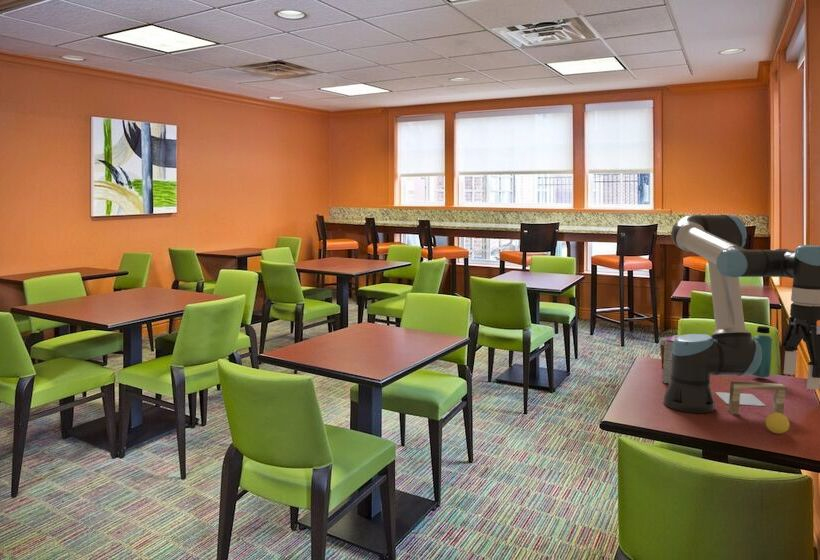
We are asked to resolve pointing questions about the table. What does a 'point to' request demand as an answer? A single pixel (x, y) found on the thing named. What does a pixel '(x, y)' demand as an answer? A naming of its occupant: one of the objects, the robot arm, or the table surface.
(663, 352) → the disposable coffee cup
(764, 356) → the beverage bottle
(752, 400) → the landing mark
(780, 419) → the ball
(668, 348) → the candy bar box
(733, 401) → the bridge
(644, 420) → the table surface
